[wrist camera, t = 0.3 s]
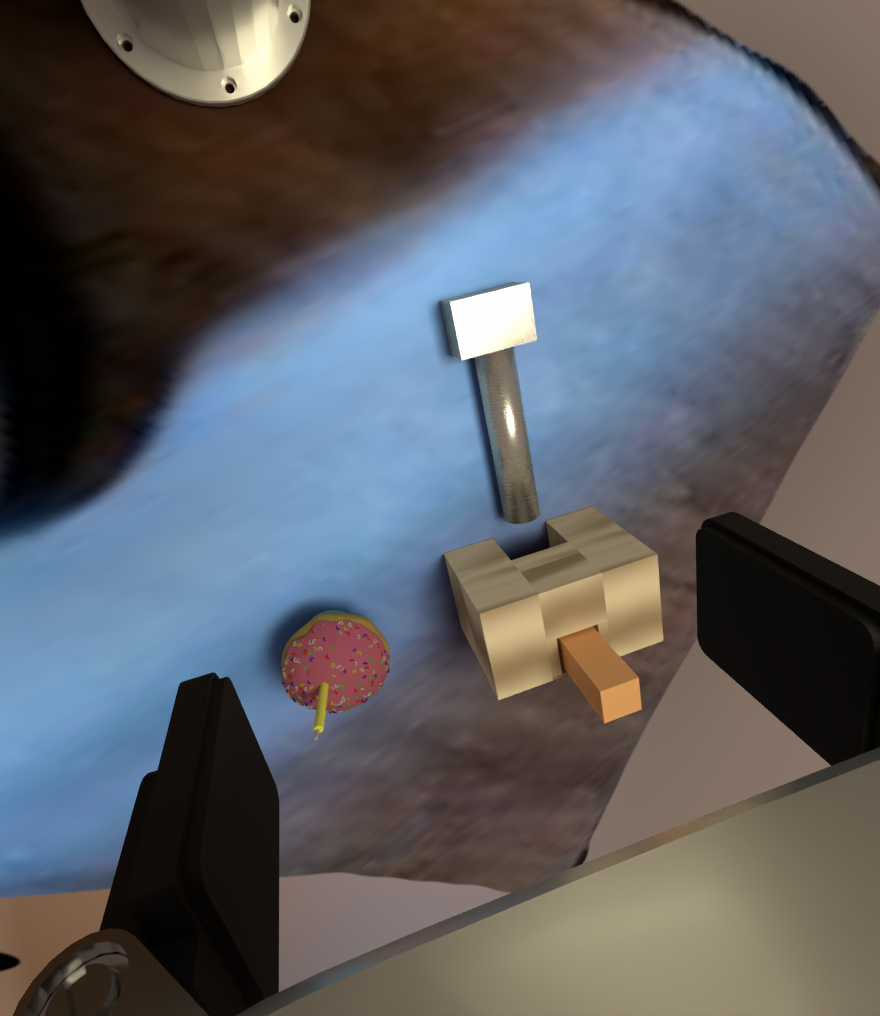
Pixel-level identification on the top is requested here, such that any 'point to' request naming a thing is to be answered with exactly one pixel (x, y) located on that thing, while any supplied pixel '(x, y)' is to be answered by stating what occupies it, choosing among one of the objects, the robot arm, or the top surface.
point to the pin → (499, 382)
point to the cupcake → (334, 663)
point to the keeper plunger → (600, 674)
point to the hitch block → (555, 598)
